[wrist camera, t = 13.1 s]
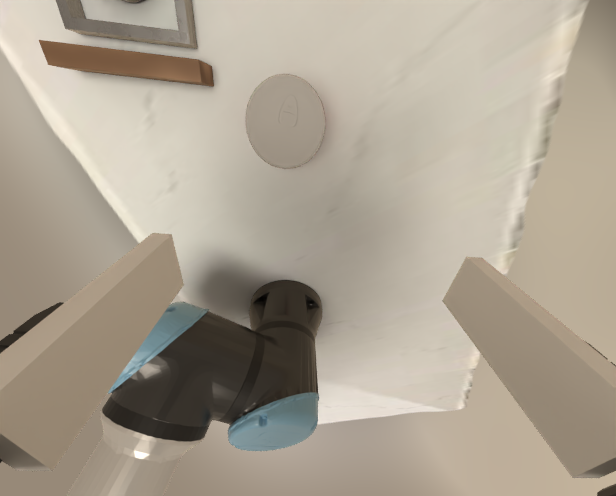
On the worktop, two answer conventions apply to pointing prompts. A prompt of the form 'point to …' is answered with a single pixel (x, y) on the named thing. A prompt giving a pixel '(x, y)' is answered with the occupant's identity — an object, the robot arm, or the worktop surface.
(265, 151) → the canned food
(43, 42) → the door edge rail
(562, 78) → the worktop surface
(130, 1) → the supplement bottle
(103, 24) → the frame
